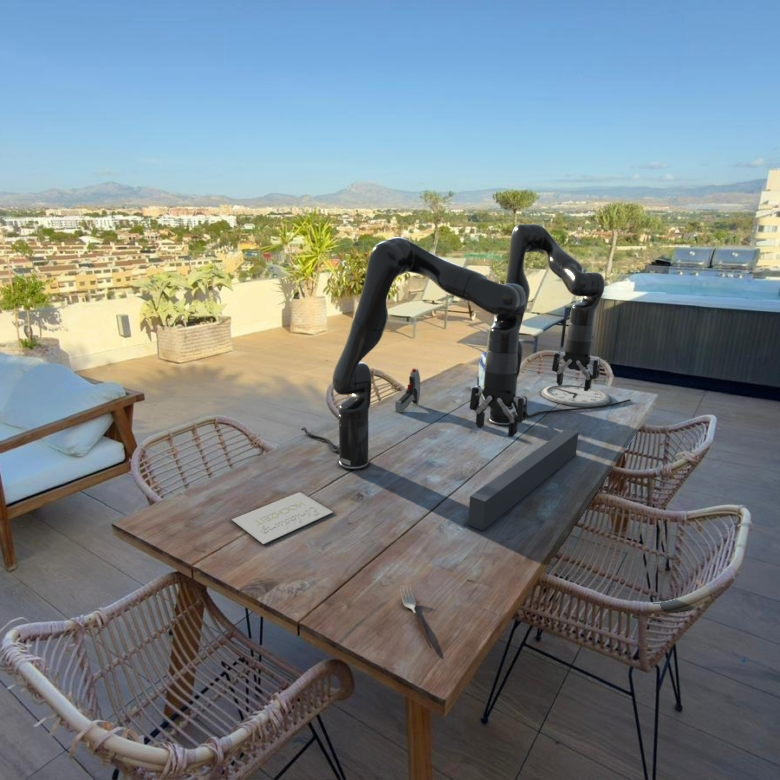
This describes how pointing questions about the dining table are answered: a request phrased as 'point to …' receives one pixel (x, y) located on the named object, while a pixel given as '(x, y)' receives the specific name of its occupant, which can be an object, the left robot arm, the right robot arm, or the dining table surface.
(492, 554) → the dining table surface
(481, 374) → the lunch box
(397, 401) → the toy gun
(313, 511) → the invitation card
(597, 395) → the wall clock
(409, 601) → the fork
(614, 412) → the dining table surface
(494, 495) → the bar
